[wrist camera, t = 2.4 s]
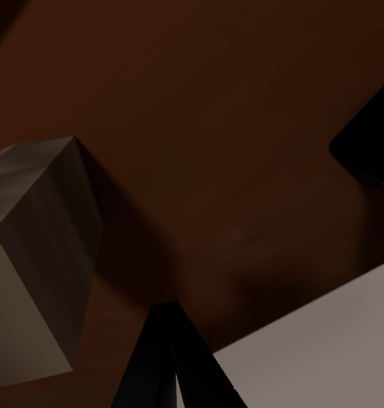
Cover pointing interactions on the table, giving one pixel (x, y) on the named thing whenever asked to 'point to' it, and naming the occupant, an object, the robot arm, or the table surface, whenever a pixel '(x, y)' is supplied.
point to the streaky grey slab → (44, 257)
